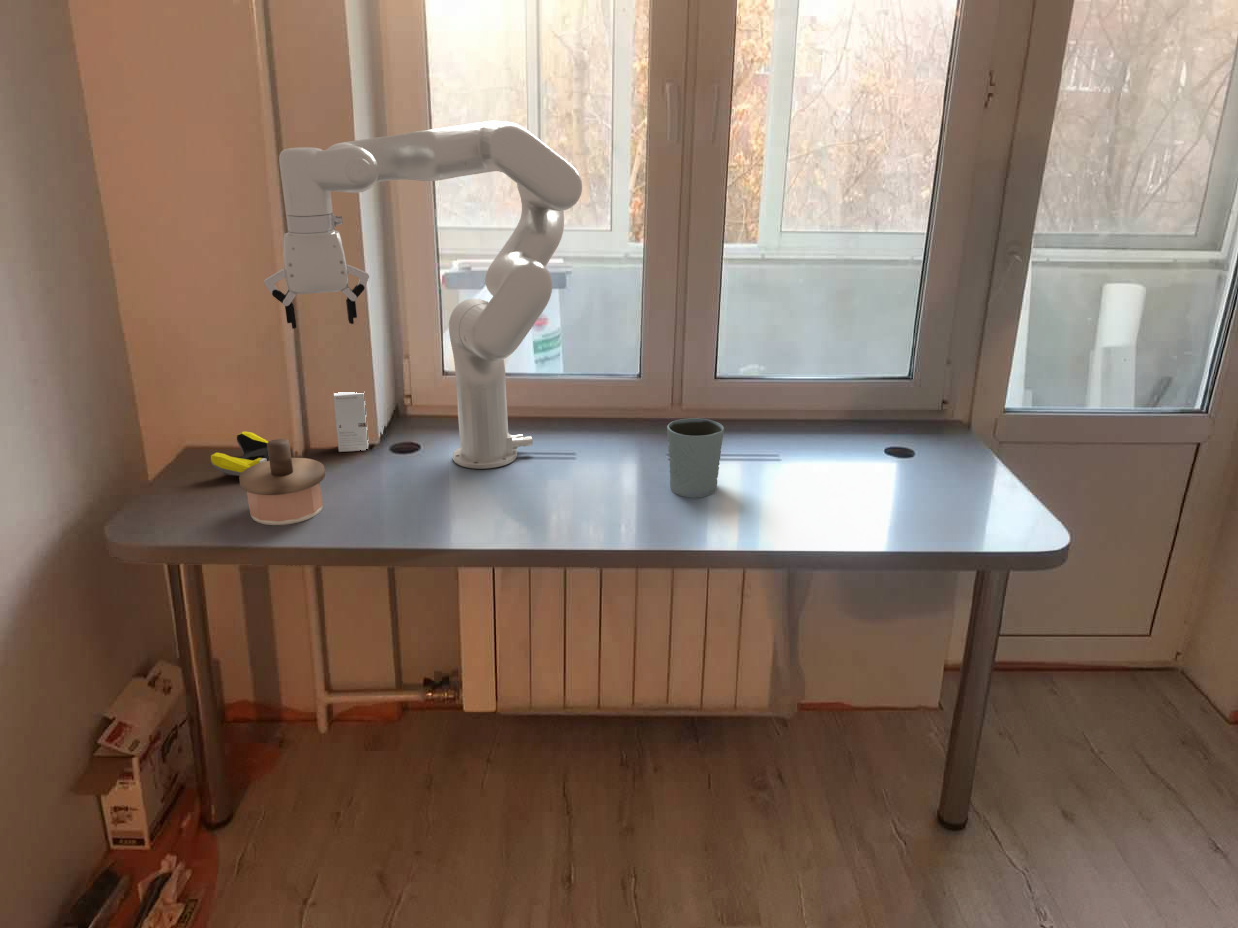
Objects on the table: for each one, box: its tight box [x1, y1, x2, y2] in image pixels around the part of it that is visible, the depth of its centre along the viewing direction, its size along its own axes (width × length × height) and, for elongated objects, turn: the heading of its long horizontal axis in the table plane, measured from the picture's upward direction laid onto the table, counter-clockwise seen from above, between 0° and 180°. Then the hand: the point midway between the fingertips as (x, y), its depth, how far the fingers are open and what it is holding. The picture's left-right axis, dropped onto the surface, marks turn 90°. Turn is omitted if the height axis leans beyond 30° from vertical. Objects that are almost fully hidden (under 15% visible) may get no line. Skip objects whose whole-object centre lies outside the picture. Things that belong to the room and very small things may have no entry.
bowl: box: [246, 482, 324, 526], centre depth 168 cm, size 12×12×6 cm
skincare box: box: [332, 392, 369, 453], centre depth 196 cm, size 6×4×12 cm
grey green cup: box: [666, 417, 725, 498], centre depth 176 cm, size 10×10×12 cm
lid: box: [238, 438, 326, 495], centre depth 166 cm, size 14×14×7 cm
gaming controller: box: [210, 431, 269, 477], centre depth 187 cm, size 15×6×10 cm
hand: (322, 324), depth 169 cm, fingers open, 9 cm apart
